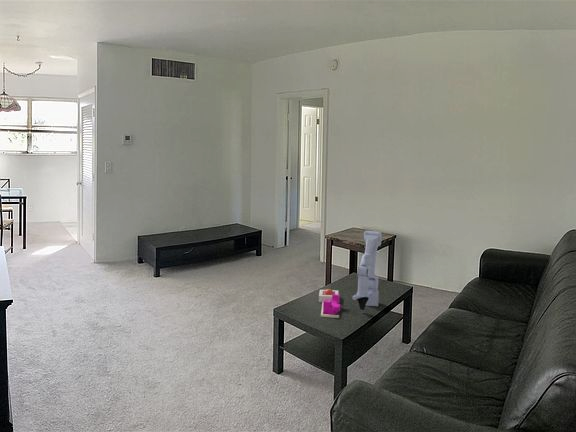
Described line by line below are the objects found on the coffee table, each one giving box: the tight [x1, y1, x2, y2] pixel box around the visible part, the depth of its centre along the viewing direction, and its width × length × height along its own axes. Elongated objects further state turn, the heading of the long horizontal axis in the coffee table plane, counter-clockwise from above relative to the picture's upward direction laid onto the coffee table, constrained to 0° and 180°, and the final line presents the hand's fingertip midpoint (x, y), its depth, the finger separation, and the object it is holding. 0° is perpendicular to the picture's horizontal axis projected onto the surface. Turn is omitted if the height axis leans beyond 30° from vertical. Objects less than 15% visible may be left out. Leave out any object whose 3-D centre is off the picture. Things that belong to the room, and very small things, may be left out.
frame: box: [320, 302, 340, 319], centre depth 270 cm, size 10×20×1 cm, turn 174°
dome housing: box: [318, 289, 339, 303], centre depth 288 cm, size 12×12×4 cm
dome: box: [323, 288, 335, 295], centre depth 288 cm, size 7×7×6 cm
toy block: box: [323, 293, 341, 315], centre depth 270 cm, size 15×6×8 cm, turn 152°
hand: (362, 309), depth 267 cm, fingers closed
